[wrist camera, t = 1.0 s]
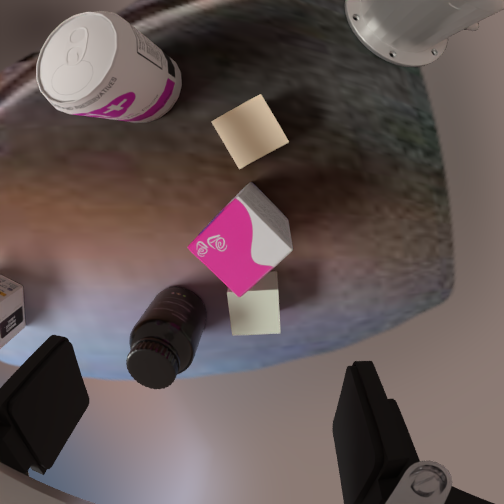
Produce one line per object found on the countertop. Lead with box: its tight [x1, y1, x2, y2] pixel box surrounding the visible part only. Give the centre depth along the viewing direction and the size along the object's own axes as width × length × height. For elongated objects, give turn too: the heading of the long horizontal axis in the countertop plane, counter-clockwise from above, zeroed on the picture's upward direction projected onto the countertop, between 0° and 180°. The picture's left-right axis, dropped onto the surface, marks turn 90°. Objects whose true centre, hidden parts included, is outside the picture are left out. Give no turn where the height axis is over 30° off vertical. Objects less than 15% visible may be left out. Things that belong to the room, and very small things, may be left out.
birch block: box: [212, 94, 289, 169], centre depth 30 cm, size 5×5×5 cm
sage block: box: [227, 271, 280, 335], centre depth 35 cm, size 5×5×5 cm
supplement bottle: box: [126, 287, 207, 389], centre depth 33 cm, size 7×7×12 cm
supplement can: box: [36, 11, 182, 123], centre depth 23 cm, size 8×8×15 cm
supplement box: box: [188, 182, 293, 297], centre depth 29 cm, size 6×6×12 cm
